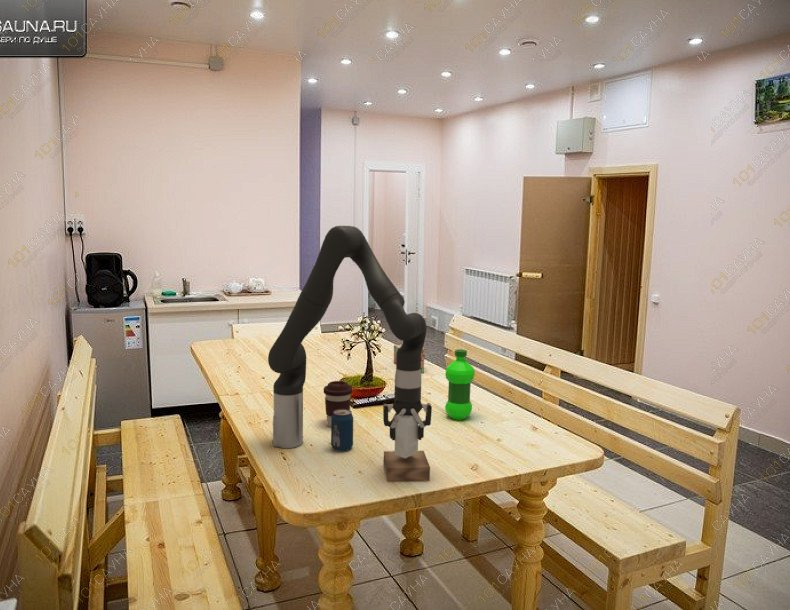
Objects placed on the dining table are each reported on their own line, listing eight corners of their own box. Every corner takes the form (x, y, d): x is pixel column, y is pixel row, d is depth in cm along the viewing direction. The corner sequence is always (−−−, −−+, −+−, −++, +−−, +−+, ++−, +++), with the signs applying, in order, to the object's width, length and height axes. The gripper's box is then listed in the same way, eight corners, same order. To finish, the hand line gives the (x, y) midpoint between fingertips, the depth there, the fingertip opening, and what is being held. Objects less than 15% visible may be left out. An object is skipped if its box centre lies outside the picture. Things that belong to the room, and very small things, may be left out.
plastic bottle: (474, 414, 234) (477, 348, 230) (469, 423, 224) (472, 355, 220) (447, 411, 237) (449, 346, 233) (441, 420, 227) (444, 352, 223)
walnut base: (387, 481, 176) (387, 468, 176) (383, 464, 188) (383, 451, 187) (429, 480, 178) (430, 467, 177) (423, 463, 189) (423, 450, 189)
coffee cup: (325, 431, 214) (326, 388, 212) (321, 421, 223) (321, 380, 221) (354, 428, 217) (355, 386, 214) (348, 419, 226) (349, 378, 224)
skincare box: (406, 448, 186) (407, 409, 184) (418, 452, 183) (419, 413, 181) (393, 454, 181) (394, 414, 179) (405, 459, 178) (406, 418, 176)
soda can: (353, 444, 203) (353, 408, 201) (352, 452, 196) (353, 415, 194) (331, 443, 203) (332, 408, 201) (330, 452, 196) (330, 415, 194)
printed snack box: (393, 363, 306) (393, 338, 304) (405, 362, 308) (405, 338, 306) (411, 375, 287) (412, 348, 285) (424, 373, 289) (425, 347, 287)
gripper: (383, 387, 174) (382, 444, 177) (435, 387, 176) (433, 443, 178) (381, 380, 182) (380, 435, 184) (430, 379, 183) (429, 434, 186)
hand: (406, 439), depth 181 cm, fingers closed on skincare box, 7 cm apart
